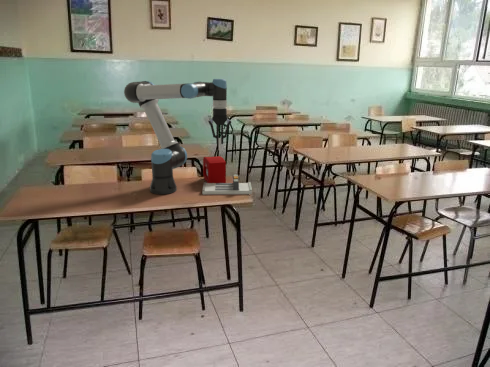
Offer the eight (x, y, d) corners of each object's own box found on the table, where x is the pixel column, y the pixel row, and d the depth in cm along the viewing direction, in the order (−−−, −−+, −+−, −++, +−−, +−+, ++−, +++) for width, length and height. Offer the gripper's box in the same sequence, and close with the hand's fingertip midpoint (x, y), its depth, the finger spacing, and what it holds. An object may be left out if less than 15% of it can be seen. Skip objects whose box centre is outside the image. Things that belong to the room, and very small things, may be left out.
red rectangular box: (203, 178, 257) (202, 155, 253) (219, 177, 260) (219, 154, 256) (208, 185, 242) (208, 161, 238) (225, 184, 245) (225, 160, 241)
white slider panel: (202, 194, 227) (202, 181, 224) (203, 186, 241) (203, 174, 239) (251, 194, 228) (252, 181, 226) (250, 186, 242) (250, 173, 240)
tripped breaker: (233, 186, 232) (233, 177, 231) (233, 184, 235) (233, 176, 234) (238, 186, 232) (238, 177, 231) (238, 184, 235) (238, 176, 234)
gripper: (207, 108, 216) (208, 151, 223) (231, 108, 217) (231, 151, 224) (208, 106, 223) (208, 148, 230) (231, 107, 224) (231, 148, 231)
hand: (219, 149), depth 227 cm, fingers closed
